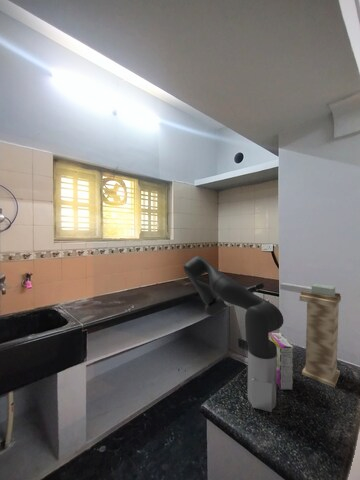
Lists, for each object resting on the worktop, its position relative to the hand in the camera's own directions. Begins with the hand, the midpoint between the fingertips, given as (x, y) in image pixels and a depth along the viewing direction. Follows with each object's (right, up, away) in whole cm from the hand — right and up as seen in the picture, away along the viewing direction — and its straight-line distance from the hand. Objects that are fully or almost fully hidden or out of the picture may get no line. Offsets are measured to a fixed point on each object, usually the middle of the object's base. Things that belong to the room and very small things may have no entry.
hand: (259, 286), depth 106 cm
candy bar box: (+1, -32, -20) cm, 38 cm away
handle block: (+14, 0, -14) cm, 20 cm away
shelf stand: (+19, -32, -17) cm, 40 cm away
